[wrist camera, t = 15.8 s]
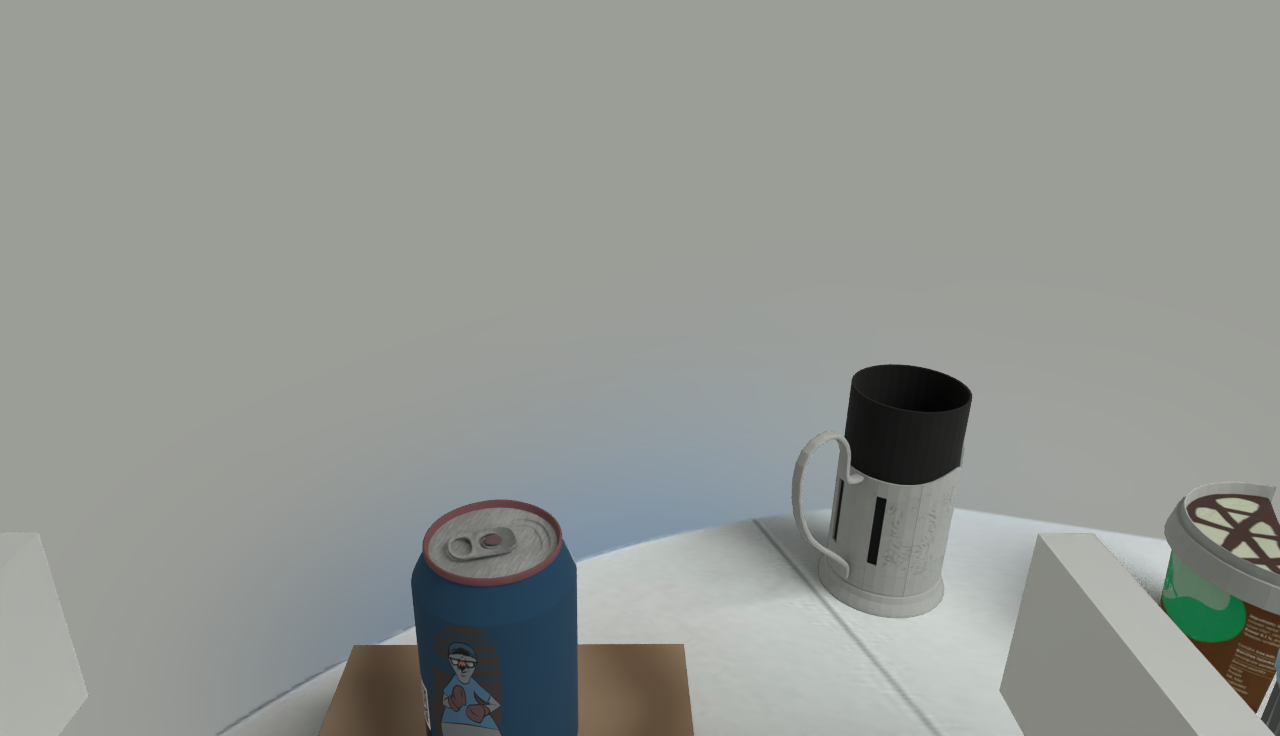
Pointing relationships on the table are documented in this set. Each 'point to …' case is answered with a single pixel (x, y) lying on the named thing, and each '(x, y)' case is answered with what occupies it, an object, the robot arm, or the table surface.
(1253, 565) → the food container
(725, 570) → the table surface
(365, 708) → the block
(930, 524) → the glass holder
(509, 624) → the soda can
